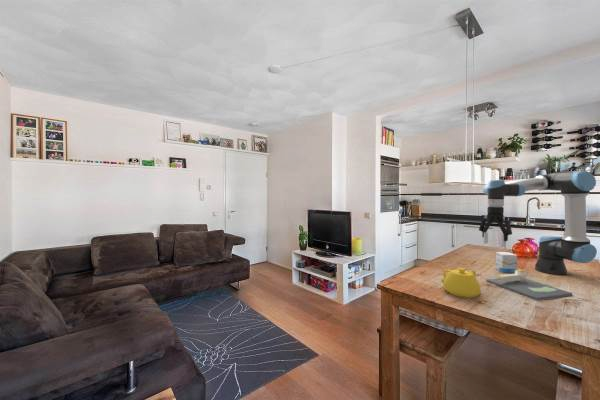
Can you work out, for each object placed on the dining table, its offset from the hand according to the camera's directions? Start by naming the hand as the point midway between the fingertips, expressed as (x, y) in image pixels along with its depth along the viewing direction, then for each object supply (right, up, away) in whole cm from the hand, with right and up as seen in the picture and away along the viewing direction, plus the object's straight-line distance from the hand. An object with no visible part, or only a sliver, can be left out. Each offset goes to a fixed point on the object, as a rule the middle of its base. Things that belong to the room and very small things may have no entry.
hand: (494, 244), depth 150 cm
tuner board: (+10, -22, -10) cm, 26 cm away
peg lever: (+5, -20, -5) cm, 21 cm away
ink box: (+22, -21, +20) cm, 36 cm away
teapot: (-28, -22, -14) cm, 39 cm away
